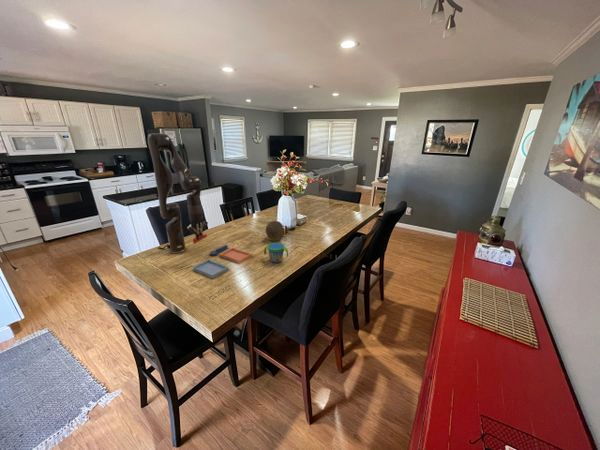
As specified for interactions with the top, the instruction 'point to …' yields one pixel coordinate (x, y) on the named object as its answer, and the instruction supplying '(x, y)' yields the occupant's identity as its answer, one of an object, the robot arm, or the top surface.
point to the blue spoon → (218, 250)
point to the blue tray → (210, 268)
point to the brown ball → (275, 231)
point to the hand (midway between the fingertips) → (199, 239)
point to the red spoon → (199, 238)
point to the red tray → (236, 255)
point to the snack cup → (276, 251)
